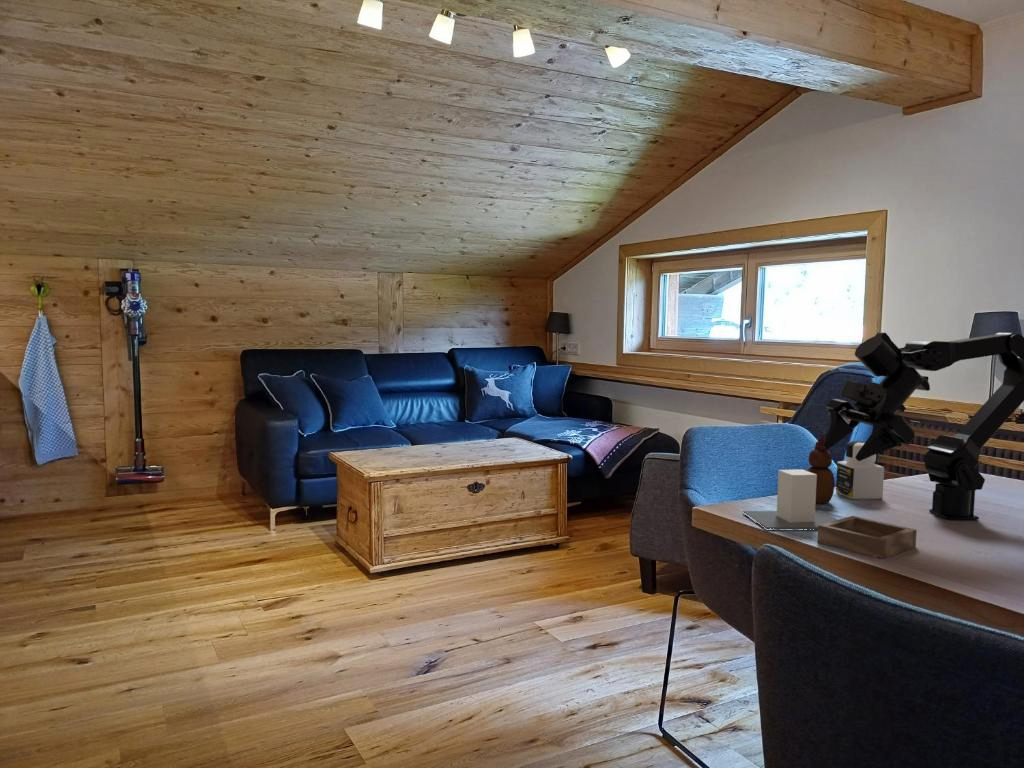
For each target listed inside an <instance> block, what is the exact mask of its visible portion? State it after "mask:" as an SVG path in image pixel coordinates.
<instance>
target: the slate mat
mask: <svg viewBox="0 0 1024 768" xmlns="http://www.w3.org/2000/svg"><path fill="white" fill-rule="evenodd" d="M743 512H744V513H746V514H747V515H749V516H750V517H752V518H753V519H755V520H756V521H757V522H759V523H760V524H761V525H762V526H764V527H765V528H766V529H770V528H771V529H773V528H774V529H803V530H802V531H805V530H804V529H807V530H806V531H818V525H821V524H824V523H828V522H832V521H835V520H839V519H838V518H836V517H834V516H832V515H830V514H828V513H826V512H825V511H823V510H815V522H792V523H790V522H788V521H786V520H784V519H782V518H780V517H778V516H777V510H743V511H742V513H743ZM810 529H811V530H810ZM813 529H814V530H813Z"/></svg>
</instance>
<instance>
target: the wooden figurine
mask: <svg viewBox="0 0 1024 768" xmlns="http://www.w3.org/2000/svg"><path fill="white" fill-rule="evenodd" d="M826 436H827V433H825V435H823V434H821V437H820V438H818V440H817V441H815V445H814V449H812V450H810V452H809V455H808V463H809V465H810V467H808V468H807V470H806V471H808V472H811V473H814V474H817V482H816V503H815V504H818V505H824V504H828V503H829V502H831V500H832V498H833V495H834V492H835V491H834V490H835V476H834V473H833V471H832V470H831V468H830V467H831V466H832V464H833V463H832V462H833V461H832V460H833V457H832V453H831V451H829V450H828V449H825V448H824V447H823V444H824V441H825V439H826Z"/></svg>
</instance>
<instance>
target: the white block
mask: <svg viewBox="0 0 1024 768" xmlns="http://www.w3.org/2000/svg"><path fill="white" fill-rule="evenodd" d="M816 482H817V474H814V473H811V472H808V471H807V470H805V469H802V468H801V469H778V473H777V497H776V511H777V516H778V517H780V518H782V519H784V520H786V521H788V522H790V523H792V522H815V511H816V504H817V503H816Z"/></svg>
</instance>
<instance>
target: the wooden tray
mask: <svg viewBox="0 0 1024 768" xmlns="http://www.w3.org/2000/svg"><path fill="white" fill-rule="evenodd" d="M917 531H918V530H917V529H915V528H910V527H908V526H907V527H906V526H901V525H897V524H891V523H889V522H888V523H887V522H882V521H878V520H874V519H870V518H865V517H860V516H857V515H851V516H847V517H843V518H840V519H838V520H835V521H832V522H828V523H824V524H821V525H818V530H817V539H816V540H817V543H819V542H821V543H820V544H823V543H825V544H824V545H827V544H828V545H827V546H830V545H832V547H834V546H836V547H835V548H838V547H840V548H839V549H842V548H844V549H843V550H846V549H847V551H850V550H851V551H850V552H854V551H855V553H858V552H859V553H858V554H862V553H863V554H862V555H866V554H867V555H866V556H870V555H871V556H870V557H873V556H876V557H875V558H877V557H880V558H879V559H881V558H883V559H885V558H884V557H886V558H888V557H890V555H891V556H894V555H897V554H899V553H902V552H903V553H904V552H905V551H908V550H910V549H915V548H916V547H917ZM896 553H897V554H896Z"/></svg>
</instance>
